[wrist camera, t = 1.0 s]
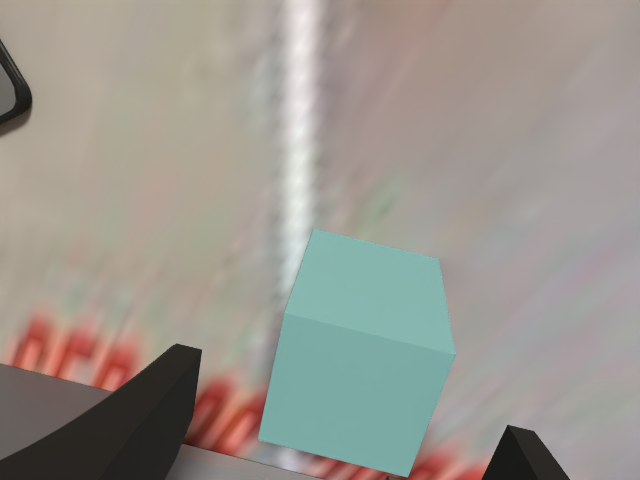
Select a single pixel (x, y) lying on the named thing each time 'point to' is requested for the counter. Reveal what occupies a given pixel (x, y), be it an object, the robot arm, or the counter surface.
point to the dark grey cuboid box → (38, 406)
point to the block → (360, 354)
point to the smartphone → (12, 88)
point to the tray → (225, 468)
